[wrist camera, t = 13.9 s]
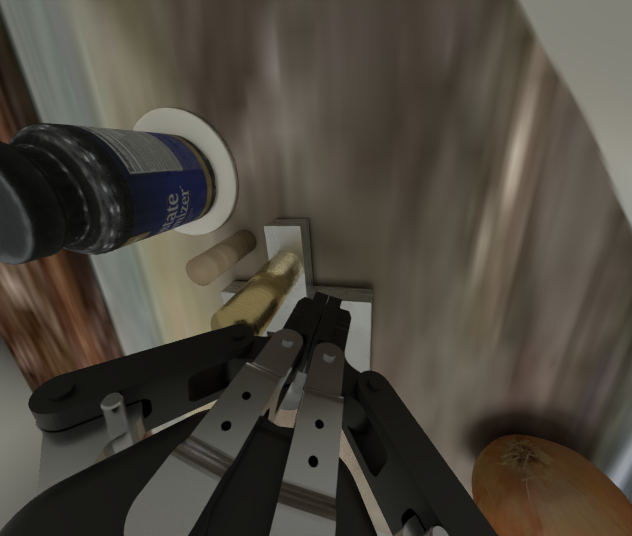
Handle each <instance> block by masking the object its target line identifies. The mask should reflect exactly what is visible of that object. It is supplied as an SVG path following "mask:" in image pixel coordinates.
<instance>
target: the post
mask: <svg viewBox="0 0 632 536" xmlns="http://www.w3.org/2000/svg"><path fill="white" fill-rule="evenodd" d="M306 364H307V363H306ZM305 368H306V365H305ZM305 368H304V371H305ZM304 371H303V373H301V372H299V371H298V373H297V376H296V378H295V380H294V381H293V384H292V387H291V389H290V391H289V393H288V395H287V397H286V399H285V401H284V403H283V405H282V407H281V409H284V410H295V409H298V406H299V402H300V398H301V394H302V390H303V387H304V383H305V380H306V376H307V374H304Z"/></svg>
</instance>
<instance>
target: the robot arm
mask: <svg viewBox="0 0 632 536" xmlns="http://www.w3.org/2000/svg"><path fill="white" fill-rule="evenodd" d="M328 298H329V299H328ZM327 301H328V302H327ZM341 303H342V299H340V298H337V297H333V296H329V295H327V294H324V293H321V292H318V291H316V293H315V295H314V297H313V299H310V298H307V297H304V298H302V299H300V300H299V301H298V302H297V304H296V306H295V307H294V309H293V311H292V313H291V314H290V316H289V318H288V320H287V321H286V323H285V325H284V327H283V328H282V329H281V330H278V331H277V332H275V333H274V335H273V336H267V337H266V336H254V332H253V330H252V329H251V328H250V327H248V326H246V325H242V324H235V325H230V326H227V327H224V328H220V329H217V330H213V331H210V332H206V333H203V334H200V335H196V336H193V337H189V338H186V339H182V340H179V341H176V342H172V343H169V344H165V345H162V346H158V347H155V348H152V349H148V350H145V351H141V352H138V353H134V354H131V355H128V356H124V357H121V358H117V359H114V360H110V361H107V362H103V363H100V364H97V365H93V366H90V367H86V368H83V369H79V370H76V371H73V372H69V373H66V374H62V375H59V376H57V377H54V378H52V379H50V380H48V381H47V382H45V383H44V384H42V385H41V386H40V387H38V388H37V389H36V390H35V391H34V393H33V394H32V396H31V397H30V399H29V404H28V405H29V408H30V410H31V412H32V414H33V416H34V418H35V419H36V425H37V428H38V429H39V431H40V433H41V435H42V437H43V438H42V447H41V459H40V470H39V481H38V492H37V497H35V498H34V499H33V500H31V501H30V502H29V503H28V504H26V505H25V506H24V507H23V508H22V509H21V510H20V511H19V512H17V513H16V514H15V515H14V517H13V518H12V519H11V520H10V521H9V522H8V523H7V524H6V525H5V526H4V527H3V528H2V530H1V531H0V536H377V533H376V531H375V529H374V526H373V524H372V521H371V519H370V516H369V514H368V511H367V509H366V507H365V504H364V502H363V499H362V497H361V494H360V492H359V490H358V487H357V485H356V482H355V480H354V478H353V476H352V474H351V472H350V470H349V469H348V467H347V466H346V464H345V463H344V462H343V461H342V459H341V458H340V457H339V451H340V439H341V428H342V429H343V431H344V434H345V436H346V438H347V440H348V442H349V444H350V446H351V448H352V450H353V453H354V455H355V457H356V459H357V461H358V463H359V465H360V467H361V469H362V471H363V474H364V476H365V478H366V480H367V482H368V484H369V486H370V488H371V490H372V493H373V495H374V497H375V499H376V501H377V503H378V505H379V507H380V509H381V511H382V514H383V516H384V518H385V520H386V522H387V524H388V526H389V528H390V530H391V532H392V535H393V536H498V534H497V533H496V532H495V530H494V529H493V527H492V526H491V525H490V523H489V522H488V520H487V519H486V518H485V516H484V515H483V513H482V512H481V511H480V509H479V508H478V506H477V505H476V504H475V502H474V501H473V499H472V498H471V497H470V495H469V494H468V492H467V491H466V490H465V488H464V487H463V485H462V484H461V483H460V481H459V480H458V478H457V477H456V476H455V474H454V473H453V471H452V470H451V469H450V467H449V466H448V464H447V463H446V462H445V460H444V459H443V457H442V456H441V455H440V453H439V452H438V450H437V449H436V448H435V446H434V445H433V443H432V442H431V441H430V439H429V438H428V436H427V435H426V434H425V432H424V431H423V429H422V428H421V427H420V425H419V424H418V423H417V421H416V420H415V418H414V417H413V416H412V414H411V413H410V411H409V410H408V409H407V407H406V406H405V404H404V403H403V402H402V400H401V399H400V397H399V396H398V395H397V393H396V392H395V390H394V389H393V388H392V386H391V385H390V383H389V382H388V381H387V379H386V378H385V377H384V376H382V375H381V374H379V373H377V372H375V371H369V370H368V371H364V372H362V373H360V372H359V371H357V370H356V369H355V368H353V367H352V366H351V365H350V364H349V363H348V361H347V360H346V358H345V347H346V343H347V338H348V333H349V328H350V323H351V315H350V312H349V311H347V310H344V309H341V308H340V306H341ZM306 363H307V364H306ZM305 365H306V368H305ZM304 368H305V371H304ZM298 371H299V372H301V373H303V371H304V374H307V376H306V380H305V383H304V387H303V390H302V394H301V398H300V402H299V406H298V410H297V414H296V418H295V422H294V426H293V428H288V427H280V426H277V425H275V424H274V421H275V419H276V417H277V415H278V413H279V411H280V409H281V407H282V405H283V403H284V401H285V399H286V397H287V395H288V393H289V391H290V389H291V387H292V384H293V381H294V380H295V378H296V376H297V373H298ZM217 399H218V400H217ZM215 400H217V401H216V403H215V404H214V405H213V406H212V408H211V409H208V410H204V411H201V412H198V413H196V414H194V415H192V416H190V417H188V418H186V419H184V420H182V421H180V422H178V423H176V424H174V425H172V426H170V427H168V428H166V429H164V430H162V431H160V432H158V433H156V434H154V435H152V436H150V437H148V438H146V439H144V440H142V441H140V440H141V438H142V437H143V435H144V433H145V432H147V431H149V430H151V429H153V428H156V427H158V426H160V425H162V424H164V423H167V422H169V421H171V420H173V419H175V418H177V417H180V416H182V415H184V414H186V413H188V412H191V411H193V410H195V409H197V408H199V407H202V406H204V405H206V404H208V403H210V402H213V401H215ZM139 441H140V442H139Z"/></svg>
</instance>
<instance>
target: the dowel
mask: <svg viewBox="0 0 632 536" xmlns="http://www.w3.org/2000/svg"><path fill="white" fill-rule="evenodd" d="M255 246H256V239H255V237H254V236H253V234H252V233H250V232H249V231H245V230H242V231H240V232H238V233H236V234H234V235H233V236H231V237H229V238H227V239H226V240H224V241H222V242H221V243H219V244H217V245H215V246H214V247H212V248H210V249H209V250H207V251H205V252H203V253H202V254H200V255H198V256H196V257H195V258H193V259H191V260H190V261H188V263H187V265H186V271H187V274H188V276H189V278H190V279H191V280H192V281H193V282H195V283H196V284H198V285H202V286H205V285H208V284H210V283H211V282H212V281H213V280H215V279H216V278H217V277H219V276H220V275H221V274H222V273H224V272H225V271H226V270H228V269H229V268H230V267H231V266H233V265H234V264H235V263H237V262H238V261H239V260H240V259H242V258H243V257H244V256H246V255H247V254H248V253H249V252H251V251H252V250H253V249H254V248H255Z"/></svg>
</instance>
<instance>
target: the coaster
mask: <svg viewBox="0 0 632 536" xmlns="http://www.w3.org/2000/svg"><path fill="white" fill-rule="evenodd" d="M132 131H142V132H153V133H165V134H173V135H179V136H181V137H184V138H185V139H187V140H189V141H191V142H192V143H193V144H195V145H196V146H197V147H198V148H199V149H200V150H201V152H202V153H203V154H204V155H205V156H206V157H207V159H208V160H209V162H210V164H211V166H212V169H213V171H214V175H215V186H216V197H215V201H214V204H213V206H212V208H211V209H210V211H209V212H208V213H207V214H206V215H205V216H203V217H202V218H200V219H198V220H196V221H193V222H190V223H187V224H184V225H182V226H179V227H176V228H174V229H173V230H176V231H178V232H181V233H184V234H189V235H202V234H206V233H209V232H211V231H214V230H216V229H218V228H219V227H221V226H222V225H223V224H224V223H225V222H226V221H227V220H228V219H229V218H230V216H231V215H232V213H233V211H234V208H235V206H236V202H237V197H238V177H237V171H236V167H235V163H234V161H233V158H232V155H231V153H230V151H229V149H228V147H227V146H226V144H225V142H224V141H223V139H222V138H221V137H220V135H219V134H218V133H217V132H216V131H215V130H214V129H213V128H212V127H211V126H210V125H209V124H208V123H207V122H206V121H204V120H203V119H202V118H200V117H198V116H197V115H195V114H192V113H190V112H188V111H184V110H180V109H175V108H158V109H155V110H152V111H150V112H148V113H146V114H145V115H144V116H142V117H141V118H140V119H139V120H138V122H137V123H136V124H135V126H134V128H133V130H132Z"/></svg>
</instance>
